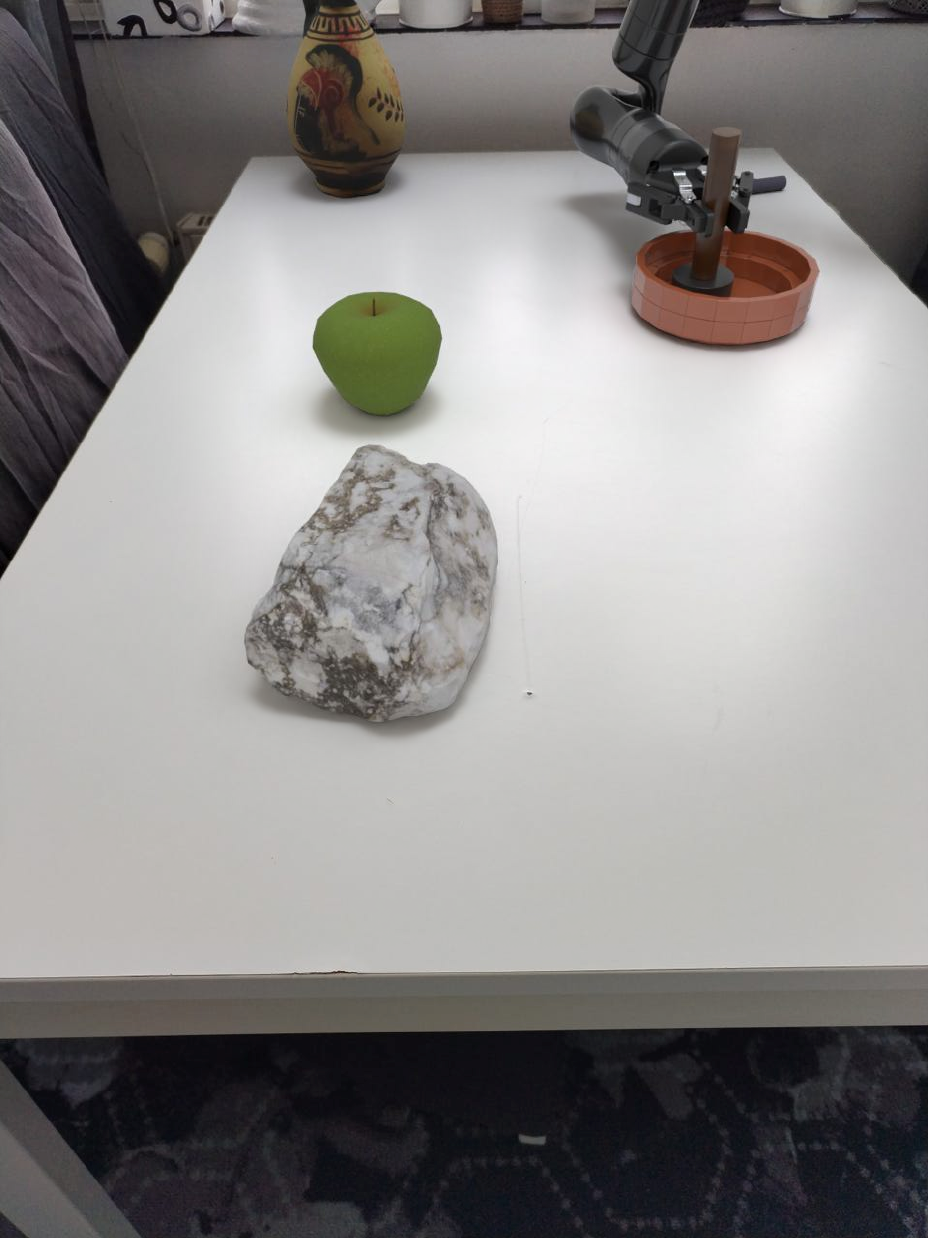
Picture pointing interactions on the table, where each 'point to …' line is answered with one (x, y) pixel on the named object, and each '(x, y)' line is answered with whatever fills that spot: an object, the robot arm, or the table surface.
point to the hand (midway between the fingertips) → (726, 224)
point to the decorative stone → (380, 592)
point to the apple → (378, 349)
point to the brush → (716, 196)
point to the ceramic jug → (344, 101)
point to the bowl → (761, 294)
